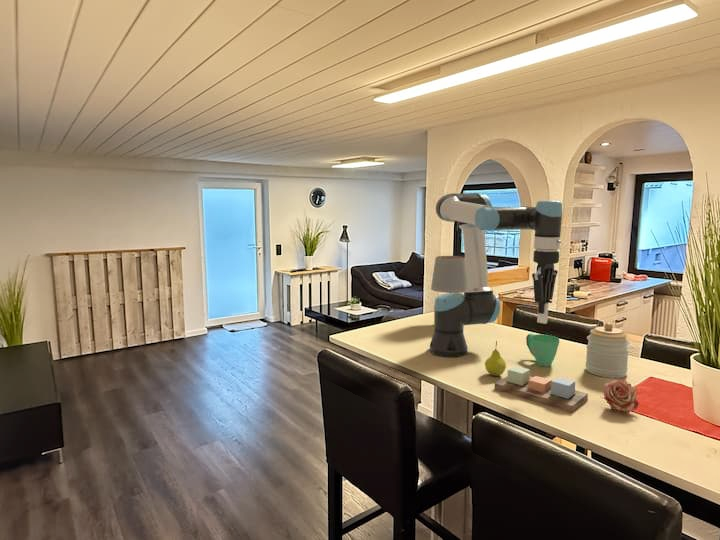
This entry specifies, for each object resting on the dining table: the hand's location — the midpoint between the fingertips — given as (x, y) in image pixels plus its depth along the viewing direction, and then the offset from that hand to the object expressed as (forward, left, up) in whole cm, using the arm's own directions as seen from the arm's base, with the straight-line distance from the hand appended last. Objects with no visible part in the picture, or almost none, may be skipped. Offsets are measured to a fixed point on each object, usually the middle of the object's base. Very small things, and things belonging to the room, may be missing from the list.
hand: (542, 322), depth 144 cm
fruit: (-14, -3, -21) cm, 25 cm away
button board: (+4, -8, -21) cm, 23 cm away
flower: (+25, -3, -21) cm, 33 cm away
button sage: (-3, -8, -18) cm, 21 cm away
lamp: (-66, +45, -21) cm, 83 cm away
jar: (+12, +27, -21) cm, 36 cm away
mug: (-9, +21, -21) cm, 31 cm away
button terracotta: (+4, -8, -20) cm, 22 cm away
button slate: (+11, -8, -18) cm, 23 cm away
